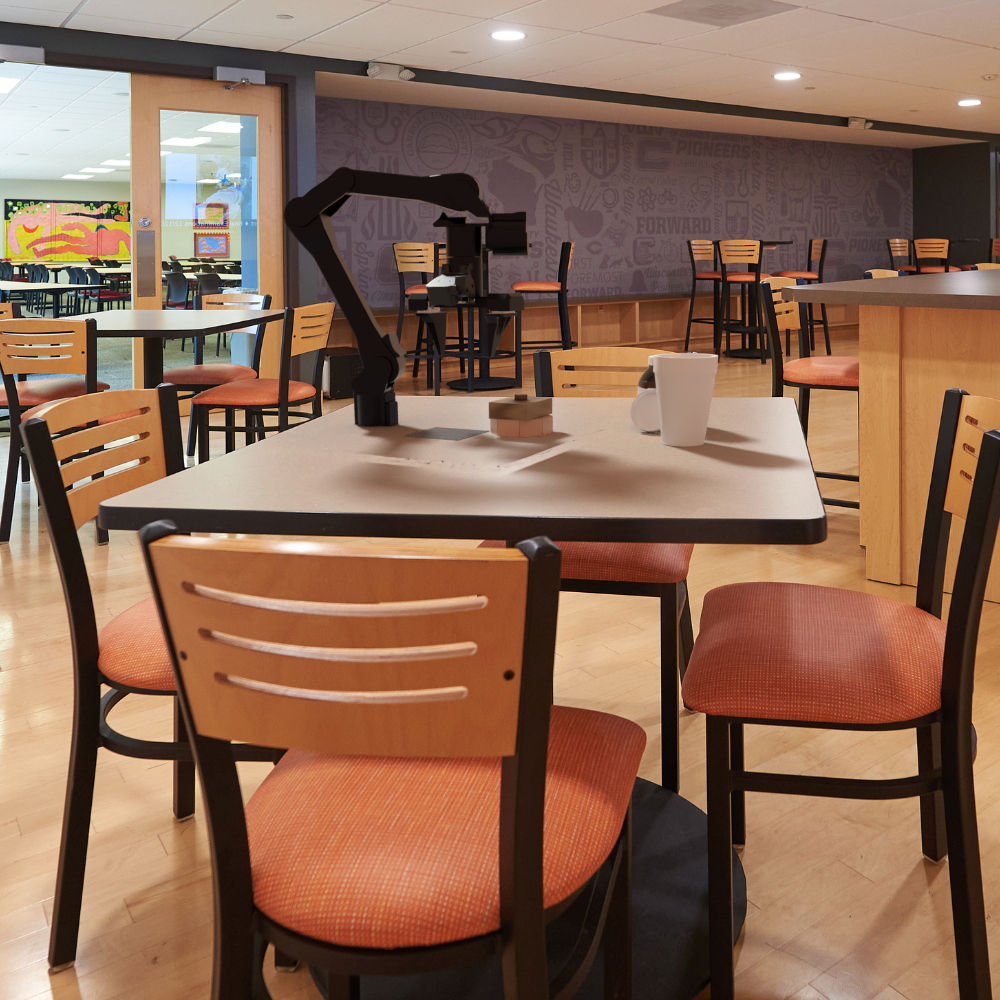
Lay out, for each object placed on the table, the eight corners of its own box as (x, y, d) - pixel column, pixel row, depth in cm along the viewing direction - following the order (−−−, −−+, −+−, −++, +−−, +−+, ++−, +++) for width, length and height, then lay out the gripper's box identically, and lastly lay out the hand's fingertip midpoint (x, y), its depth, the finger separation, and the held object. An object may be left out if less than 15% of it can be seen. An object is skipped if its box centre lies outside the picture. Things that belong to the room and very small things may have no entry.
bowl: (482, 440, 151) (482, 418, 151) (509, 432, 159) (508, 410, 158) (535, 444, 147) (535, 421, 146) (559, 435, 155) (559, 413, 154)
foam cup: (714, 449, 142) (718, 358, 139) (650, 447, 144) (652, 358, 141) (714, 438, 151) (717, 353, 148) (653, 437, 153) (655, 352, 150)
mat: (401, 442, 150) (401, 435, 150) (435, 433, 159) (435, 426, 159) (458, 446, 146) (458, 440, 146) (490, 437, 155) (490, 430, 154)
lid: (488, 418, 150) (488, 396, 149) (515, 411, 158) (515, 390, 157) (527, 421, 147) (527, 398, 146) (552, 413, 155) (552, 392, 154)
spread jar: (692, 423, 167) (694, 354, 165) (708, 433, 156) (711, 359, 154) (622, 424, 167) (623, 355, 164) (633, 434, 156) (634, 360, 153)
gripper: (386, 257, 153) (389, 358, 157) (492, 255, 145) (493, 362, 148) (424, 258, 163) (426, 353, 166) (525, 256, 154) (526, 356, 158)
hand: (465, 356), depth 159 cm, fingers open, 9 cm apart
